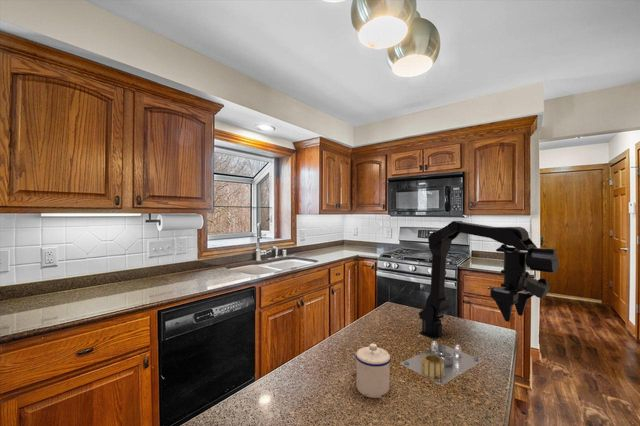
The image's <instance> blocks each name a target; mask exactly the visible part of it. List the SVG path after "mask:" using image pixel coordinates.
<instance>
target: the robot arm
mask: <svg viewBox="0 0 640 426" xmlns="http://www.w3.org/2000/svg"><path fill="white" fill-rule="evenodd" d="M460 234H467V235H470V236H476V237H477V236H478V237H480V238H481V237H482V238H486V239H487V238H488V239H492V240H494V241H495V242H498V243H500V244H501V245H500V246H499V247H498V248H497V249H495V251H496V252H500V253H503V269H501V270H500V274H502V275H503V279H502V281H503V282H501V283H500V286H497V287H494V288H492V289H490V293H489V294H490V295H489V297H490V298H491V299H492V300H493V301H494V302H495V303H496V305H497V307H498V309H499V311H500V313H501V315H502V317H503V319H504V321H505V322H507V323H510V322H511V318H512V312H513V308H514V307H515V310H516V313H517V315H518V316H520V317H522V316H523V315H524V312H525V309H526V306H527V304H528V301H529V300H530V299H531V298H532V297H534V296H535V297H537V298H539V299H543V298H545V297H546V296H547V295H548V293H549V291H551V285H549V280H548V279H546V278H544V277H541V278H539V279H538V280H537V278H532V277H530V272H529V271H527V268H529V269H530V270H531V271H536V272H543V273H552V274H556V273H558V271H559V266H560V260H559V256H558V255H557V249H556V248H551V247H549V248H541V247H537V245H536V244H535V243H534V242H533V241H532V239H531V238H530V234H529V232H528V230H527V229H526V228H524V227H521V226H492V225H485V224H480V223H479V224H477V223H471V222H466V221H462V220H453V221H451V222H450V223H448V224H447V225H445V226H444V227H442V228H440V229H438V230H437V231H436V232H432V233H430V235H428V238H427V240H428V241H427V242H428V248H429V251H430V252H431V257H432V258H431V277H430V292H429V294H428V296H427V297H426V300H425V305H424V308H423V309H422V310H420V311H419V313H418V316H419V319H420V320H421V322H422V323H421V331H419V334H421V335H423V336H425V337H427V338H431V339H434V340H436V339H437V338H440V337H443V336H444V333H443V324H442V319H443V318H444V317H445V315H446V314H447V313H448V312H449V310H450V308H451V307H450V302H451V299H450V298H447V297H446V295H445V287H446V285H445V282H446V281H445V280H446V268H447V267H446V264H447V256H448V253H449V251H450V250H451V246H452V243H453V242H452V241H453V240H455V239H456V238H457V237H458V236H459V235H460Z"/></svg>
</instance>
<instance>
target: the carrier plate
mask: <svg viewBox="0 0 640 426" xmlns="http://www.w3.org/2000/svg"><path fill="white" fill-rule="evenodd" d="M430 345H431V348H430V349H427V350H426V351H423V352H420V353H419V354H417V355H414V356H411V357H410V358H408V359H406V360H403V361H401V362H399V365H401V366H403V367H406V368H407V369H409V370H411V371H413V372H414V373H417V374H419V375H421V376H423V377H425V378H427V379H428V380H430V381H432V382H434V383H435V384H438V385H440V386H443V385H446V384H447V383H449V382H450V381H452V380H453V379H455V378H457V377H458V376H461V374H463V373H465V372H467V371H469V370H470V369H471V368H474V367H476V366H477V365H478V364H480V363H482V362H484V359H480V358H478V357H475V356H474V355H470V354H468V353H466V352H463V351H462V347H461V345H460V344H457V343H456V344H455V345H454V348H453V347H451V346H448V345H446V344H442V343H441V344H439V343H438V342H437V340H436V339H434V340H432V341H431V344H430ZM424 354H425V355H426V354H430V355H431V354H434V355H437V356H440V357H441V358H442V359H444V376H443V378H438V379H435V378H434V379H433V378H429V377H427V376H425V375H423V373H422V372H421V357H422V355H424Z"/></svg>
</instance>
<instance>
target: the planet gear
mask: <svg viewBox="0 0 640 426" xmlns="http://www.w3.org/2000/svg"><path fill="white" fill-rule="evenodd" d="M421 372H422V373H423V375H425V376H427V377H429V378H433V379H434V378H435V379H438V378H443V376H444V359H442V358H441V357H440V356H437V355H434V354H431V355H430V354H426V355H425V354H424V355H422V357H421Z"/></svg>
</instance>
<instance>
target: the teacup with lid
mask: <svg viewBox="0 0 640 426" xmlns="http://www.w3.org/2000/svg"><path fill="white" fill-rule="evenodd" d="M390 362H391V355H390V354H389V352H388V351H387V350H385V349H383V348H380V347H378V346H377V344H376V343H370V344H369V345H368V346H363V347H361V348H359V349H358V350H357V351H356V352H355V354H354V363H355V366H356V382H355V383H356V389H357V391H358V392H359V393H360V394H361V395H363V396H364V397H366V398H367V397H368V398H372V399H380V398H383V396H384V395H386V394H387V393H388V392H389V391H390V382H391V381H390V374H391V373H390V371H391V370H390V369H391V368H390Z"/></svg>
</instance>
